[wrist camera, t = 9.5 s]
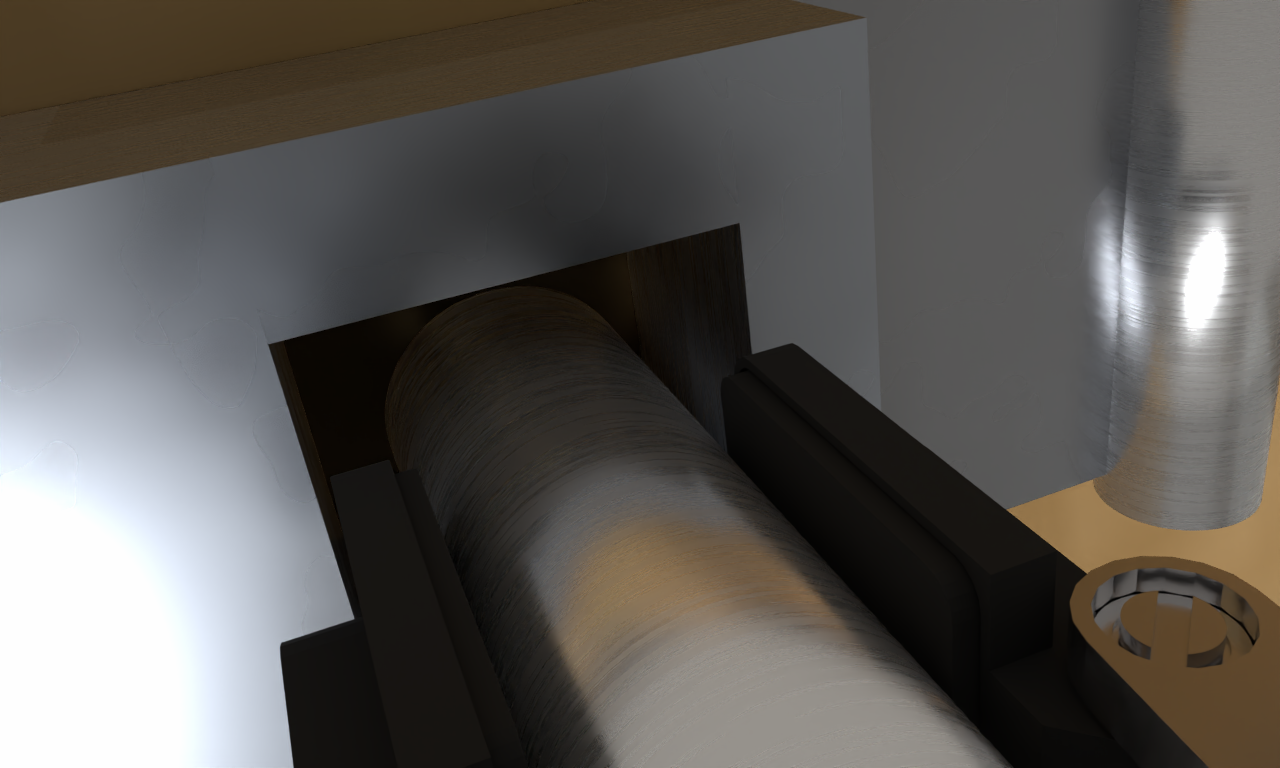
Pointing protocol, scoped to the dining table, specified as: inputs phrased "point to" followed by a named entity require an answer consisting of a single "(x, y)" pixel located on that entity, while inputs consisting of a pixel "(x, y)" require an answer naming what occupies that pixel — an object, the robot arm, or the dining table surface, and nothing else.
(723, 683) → the steel pin
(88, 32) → the dining table surface
